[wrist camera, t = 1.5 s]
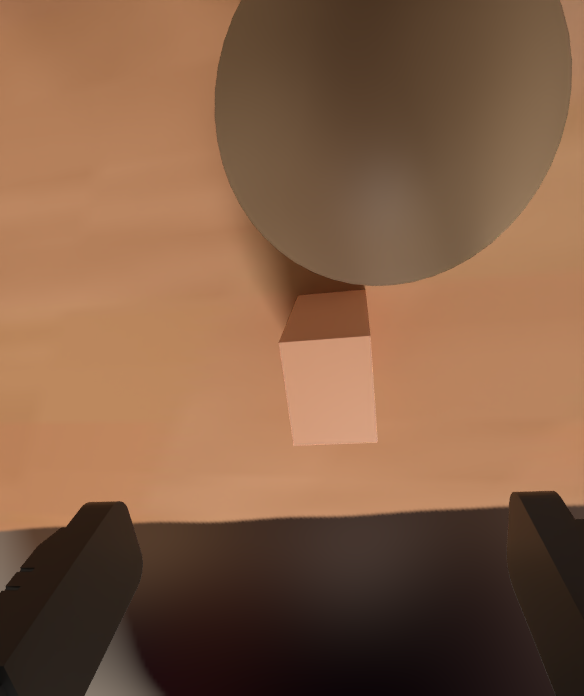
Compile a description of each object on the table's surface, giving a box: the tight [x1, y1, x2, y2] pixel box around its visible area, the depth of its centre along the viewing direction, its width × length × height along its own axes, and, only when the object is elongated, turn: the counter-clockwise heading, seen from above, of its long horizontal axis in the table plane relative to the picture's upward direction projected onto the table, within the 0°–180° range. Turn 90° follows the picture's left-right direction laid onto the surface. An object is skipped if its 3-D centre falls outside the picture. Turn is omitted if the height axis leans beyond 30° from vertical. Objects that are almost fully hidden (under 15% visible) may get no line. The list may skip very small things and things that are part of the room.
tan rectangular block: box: [279, 289, 378, 446], centre depth 18 cm, size 3×4×6 cm
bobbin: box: [215, 0, 572, 286], centre depth 14 cm, size 7×7×10 cm
